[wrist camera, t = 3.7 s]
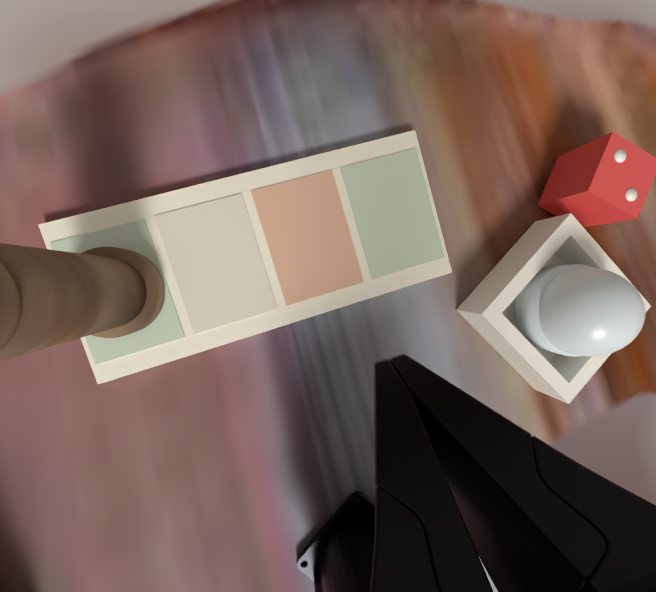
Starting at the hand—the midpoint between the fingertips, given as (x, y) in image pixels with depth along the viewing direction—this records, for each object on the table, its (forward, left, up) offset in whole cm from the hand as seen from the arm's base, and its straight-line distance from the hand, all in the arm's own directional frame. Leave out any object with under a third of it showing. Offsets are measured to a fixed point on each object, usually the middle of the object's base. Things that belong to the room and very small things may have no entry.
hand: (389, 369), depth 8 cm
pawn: (-7, +10, -13) cm, 18 cm away
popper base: (+11, -11, -14) cm, 21 cm away
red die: (+19, -7, -14) cm, 25 cm away
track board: (0, +6, -14) cm, 15 cm away
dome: (+11, -12, -12) cm, 20 cm away
